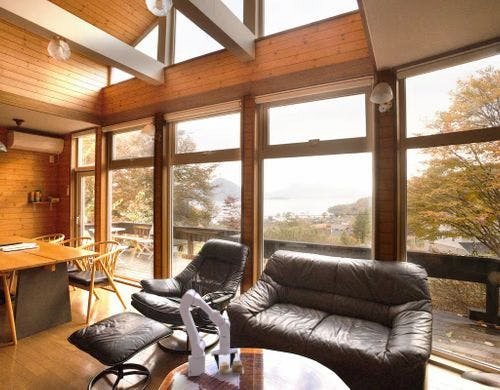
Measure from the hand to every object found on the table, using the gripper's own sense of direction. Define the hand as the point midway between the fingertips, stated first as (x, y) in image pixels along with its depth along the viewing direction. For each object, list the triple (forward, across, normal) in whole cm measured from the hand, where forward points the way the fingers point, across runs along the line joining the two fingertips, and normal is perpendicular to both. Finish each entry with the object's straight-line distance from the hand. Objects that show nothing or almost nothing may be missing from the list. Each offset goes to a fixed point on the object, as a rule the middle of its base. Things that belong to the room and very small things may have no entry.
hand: (224, 368), depth 164 cm
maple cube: (+2, 0, 0) cm, 2 cm away
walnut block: (+2, +7, -1) cm, 7 cm away
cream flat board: (+2, +8, 0) cm, 8 cm away
